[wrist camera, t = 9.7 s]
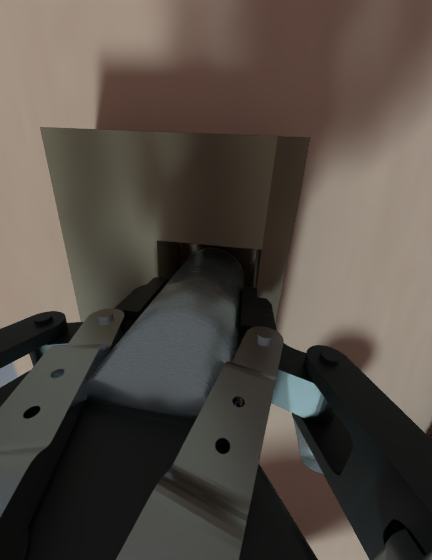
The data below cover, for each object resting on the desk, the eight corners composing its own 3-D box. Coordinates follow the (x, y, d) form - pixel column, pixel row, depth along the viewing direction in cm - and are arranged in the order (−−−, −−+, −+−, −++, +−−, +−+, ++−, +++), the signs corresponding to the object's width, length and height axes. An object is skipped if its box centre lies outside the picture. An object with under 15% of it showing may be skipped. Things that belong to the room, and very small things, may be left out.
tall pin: (247, 250, 14) (244, 389, 4) (240, 309, 15) (228, 501, 6) (181, 244, 14) (52, 360, 5) (182, 302, 15) (85, 472, 6)
